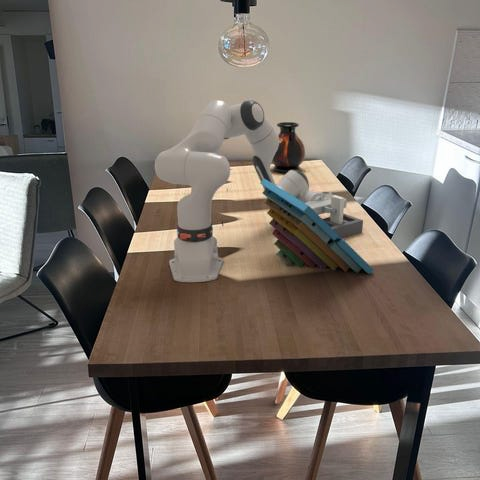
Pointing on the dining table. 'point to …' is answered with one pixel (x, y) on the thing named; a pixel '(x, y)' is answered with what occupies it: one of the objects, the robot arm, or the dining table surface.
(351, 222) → the stand
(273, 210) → the stacked coloured sheets
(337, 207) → the white rectangular block
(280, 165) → the black and orange vase
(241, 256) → the dining table surface
